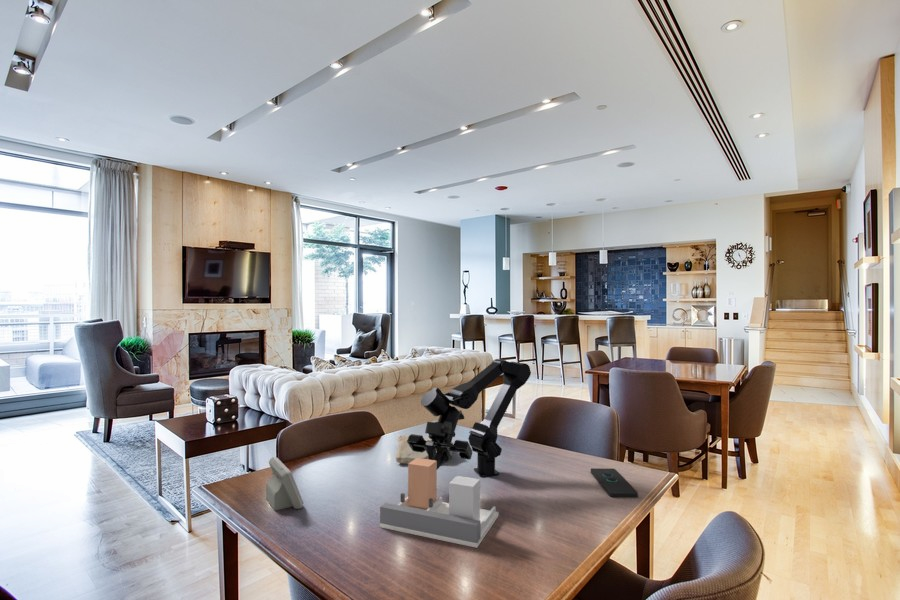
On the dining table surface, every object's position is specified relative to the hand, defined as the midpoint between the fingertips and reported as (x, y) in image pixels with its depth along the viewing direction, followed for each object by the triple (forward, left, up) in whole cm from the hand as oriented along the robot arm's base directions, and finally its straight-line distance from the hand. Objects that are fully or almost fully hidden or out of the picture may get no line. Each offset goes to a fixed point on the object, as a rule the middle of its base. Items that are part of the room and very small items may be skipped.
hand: (430, 474), depth 132 cm
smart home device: (+5, +56, -8) cm, 57 cm away
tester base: (+13, -1, -7) cm, 15 cm away
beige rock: (-39, +8, -8) cm, 41 cm away
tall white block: (+20, +3, -6) cm, 21 cm away
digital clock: (-11, -38, -7) cm, 41 cm away
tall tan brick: (+4, -3, -6) cm, 8 cm away
